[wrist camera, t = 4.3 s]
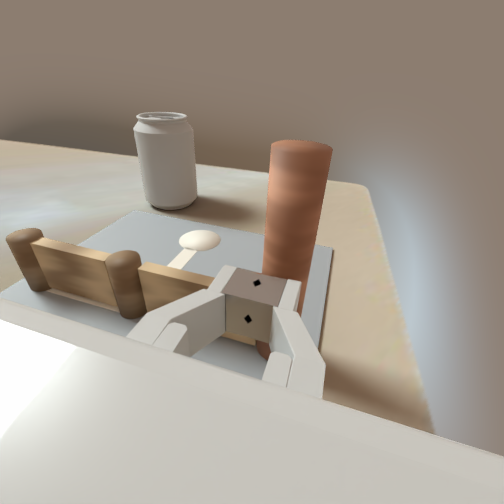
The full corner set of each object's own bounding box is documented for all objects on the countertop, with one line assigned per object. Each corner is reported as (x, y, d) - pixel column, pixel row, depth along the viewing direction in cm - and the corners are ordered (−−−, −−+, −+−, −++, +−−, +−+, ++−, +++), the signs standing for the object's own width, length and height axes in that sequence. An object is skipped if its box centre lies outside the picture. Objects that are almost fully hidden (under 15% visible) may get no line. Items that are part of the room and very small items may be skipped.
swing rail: (140, 323, 22) (93, 129, 14) (161, 299, 24) (129, 121, 17) (290, 367, 19) (329, 157, 12) (297, 336, 22) (334, 143, 14)
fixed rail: (23, 287, 25) (-3, 239, 22) (46, 272, 27) (26, 226, 24) (138, 322, 22) (126, 271, 20) (156, 302, 24) (146, 253, 22)
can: (208, 202, 43) (204, 115, 37) (165, 217, 38) (152, 120, 32) (177, 188, 47) (169, 108, 41) (136, 201, 42) (119, 112, 36)
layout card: (-48, 325, 22) (-50, 322, 22) (134, 211, 39) (134, 209, 39) (302, 452, 16) (302, 450, 15) (332, 249, 33) (332, 247, 33)
